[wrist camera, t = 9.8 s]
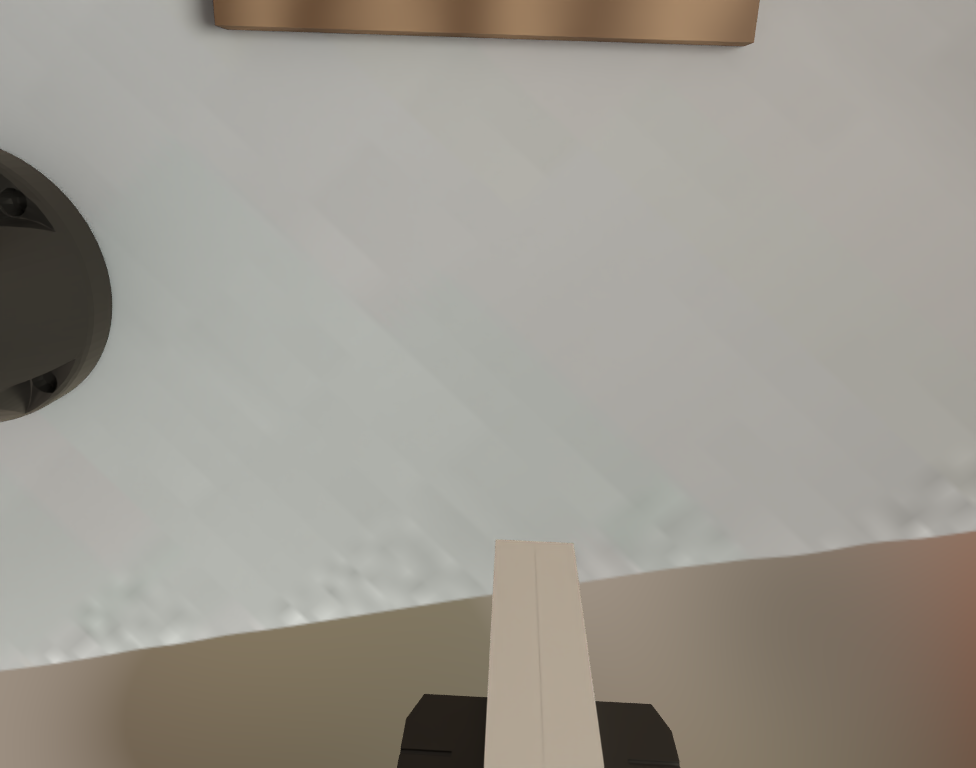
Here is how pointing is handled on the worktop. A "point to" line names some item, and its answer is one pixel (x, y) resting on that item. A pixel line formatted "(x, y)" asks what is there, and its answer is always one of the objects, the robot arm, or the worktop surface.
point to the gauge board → (506, 19)
